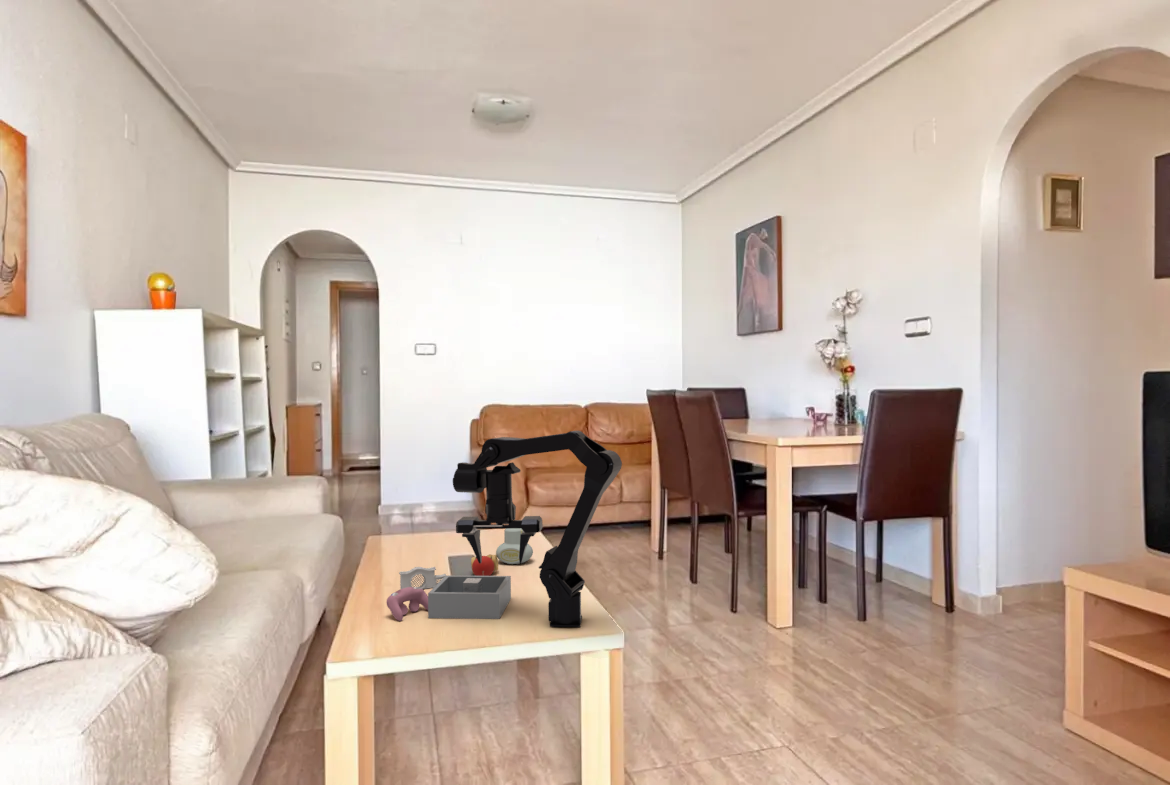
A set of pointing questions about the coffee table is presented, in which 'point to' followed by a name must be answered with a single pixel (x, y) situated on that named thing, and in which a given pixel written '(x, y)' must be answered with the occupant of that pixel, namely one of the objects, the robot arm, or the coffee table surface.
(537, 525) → the robot arm
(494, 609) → the open box
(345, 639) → the coffee table surface
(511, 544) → the air freshener
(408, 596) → the video game controller
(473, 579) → the grey stepped block
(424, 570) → the garden wall model
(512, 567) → the coffee table surface
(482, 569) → the kendama
